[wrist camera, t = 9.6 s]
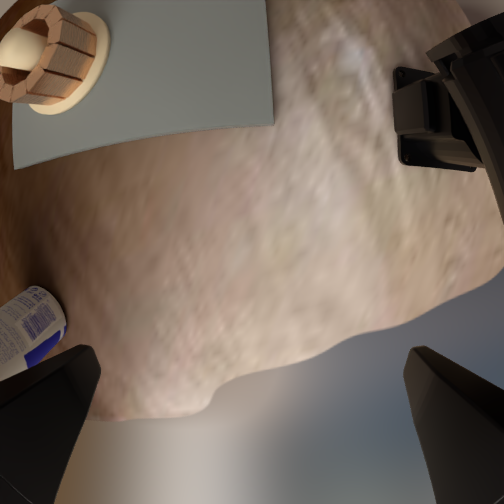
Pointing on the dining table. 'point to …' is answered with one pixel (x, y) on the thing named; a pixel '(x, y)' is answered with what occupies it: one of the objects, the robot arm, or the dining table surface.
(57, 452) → the robot arm
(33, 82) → the wooden slatted ring
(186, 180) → the dining table surface
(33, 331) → the beverage can
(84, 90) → the bobbin board
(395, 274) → the dining table surface
